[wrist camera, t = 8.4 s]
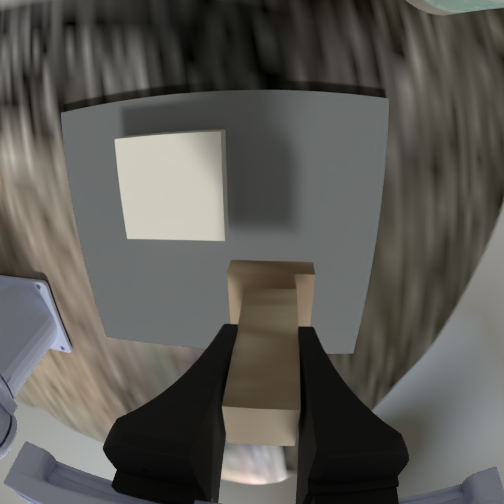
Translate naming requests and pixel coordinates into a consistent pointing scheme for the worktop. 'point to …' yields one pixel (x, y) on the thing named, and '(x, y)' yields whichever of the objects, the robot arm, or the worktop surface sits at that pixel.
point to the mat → (235, 208)
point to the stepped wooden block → (266, 349)
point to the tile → (174, 185)
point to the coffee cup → (455, 5)
